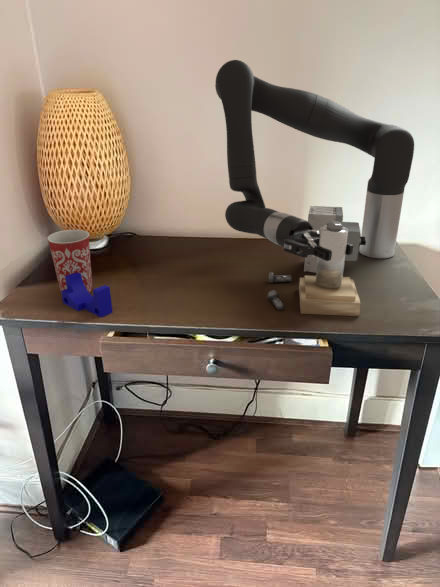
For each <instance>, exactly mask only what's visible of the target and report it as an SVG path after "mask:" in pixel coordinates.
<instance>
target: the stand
mask: <svg viewBox="0 0 440 587" xmlns="http://www.w3.org/2000/svg"><path fill="white" fill-rule="evenodd" d="M315 281H316V275H304V276H303V277H299V282H298V283H299V285H298V293H299V294H298V295H299V296H298V298H299V309H300V314H306V315H326V316H327V315H328V316H329V315H330V316H350V317H360V313H361V305H362V303H361V300H360V296H359V293H358V290H357V287H356V284H355V281H354V279H351V277H350V276H343V279H342V285H341V286H339V287H336V288H326V287H322V286H319V285H318V284H316V282H315Z"/></svg>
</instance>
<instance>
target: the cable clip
mask: <svg viewBox="0 0 440 587" xmlns="http://www.w3.org/2000/svg"><path fill="white" fill-rule="evenodd" d="M65 278H66V284H67V289H65V290H62V291H61V292H60V294H61V293H62V294H61V298H62V303H63V304H64V305H66V306H67V307H69V308H72V309H74V310H75V311H78V312H80V311H83V310H86V311H88V312H90V313H92V314H93V315H96V316H97V317H99V318H103V317H106V316H108V315H110V314H113V306H112V305H113V304H112V297H111V287H110V286H108V285H106V284H104V285H101V286H98V287H96V288H92V291H93V292H92V293H93V294H91V292H88V291H87V289H86V287H85V285H84V283H83V281H82V277H81V274H80V273H73V274H70V275H67V276H65Z"/></svg>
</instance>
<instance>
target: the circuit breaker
mask: <svg viewBox="0 0 440 587" xmlns="http://www.w3.org/2000/svg"><path fill="white" fill-rule="evenodd" d="M343 220H344V213H343V206H342V207H341V206H325V205H319V206H318V205H310V206H309V211H308V216H307V221H308V222H309V223H310V225H311V227H312V228H313V230H318V231H320V228H321V227H322V226H325V225H327V222H330V221H337V222H341V223H343V227H346V228H347V229H348V238H347V243H349V244H352V245H353V252H352V254H351V255H347V254H345V261H346V262H347V261H348V262H349V261H351V262H358V255H359V250H360V245H366V240H365V237H361V234H362V232H361V228H360V223H359V222H354V221H343ZM317 260H318V257H316V256H315V257H312V256H310V255H308V256H307V257H306V258H304V267H303V272H304V273H305V272H309V273H316V270H317Z"/></svg>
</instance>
